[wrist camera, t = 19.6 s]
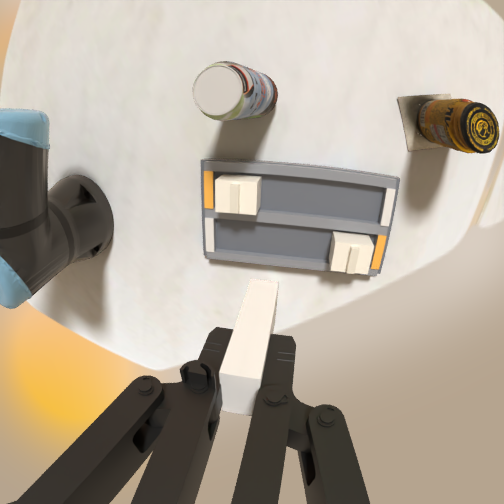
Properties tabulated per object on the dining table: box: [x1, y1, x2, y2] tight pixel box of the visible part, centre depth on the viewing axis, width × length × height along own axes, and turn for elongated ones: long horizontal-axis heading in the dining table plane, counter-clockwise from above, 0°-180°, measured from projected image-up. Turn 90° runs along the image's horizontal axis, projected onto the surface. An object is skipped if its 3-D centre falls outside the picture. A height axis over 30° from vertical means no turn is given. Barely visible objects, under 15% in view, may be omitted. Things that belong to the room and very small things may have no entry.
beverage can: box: [193, 61, 278, 121], centre depth 27 cm, size 6×7×12 cm
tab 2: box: [215, 174, 262, 215], centre depth 35 cm, size 5×4×4 cm
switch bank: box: [201, 159, 400, 276], centre depth 37 cm, size 26×14×2 cm, turn 88°
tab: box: [329, 231, 374, 274], centre depth 36 cm, size 5×4×4 cm
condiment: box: [398, 94, 499, 154], centre depth 24 cm, size 7×8×12 cm
